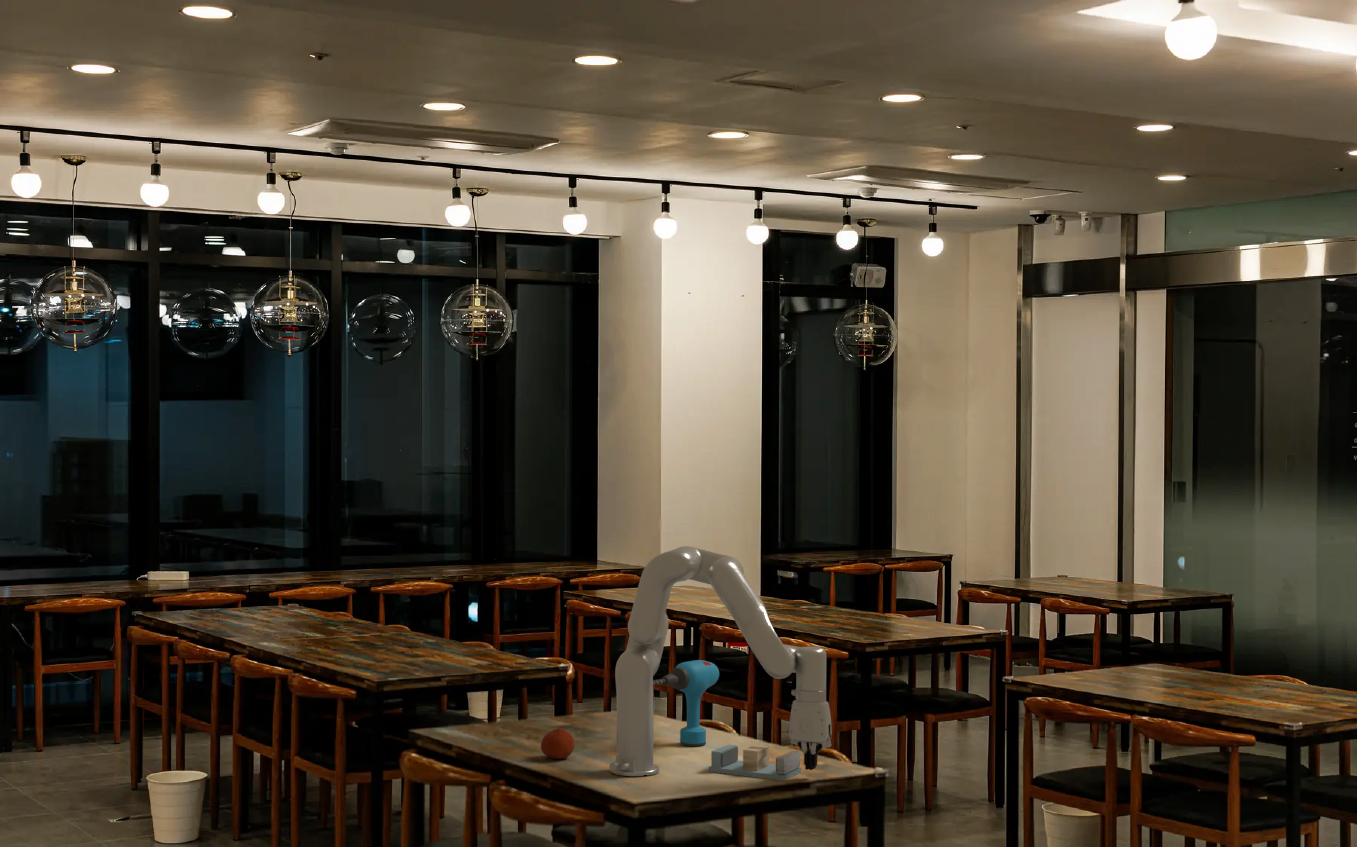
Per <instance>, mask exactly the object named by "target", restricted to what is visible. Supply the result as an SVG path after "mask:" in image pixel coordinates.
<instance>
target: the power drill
mask: <svg viewBox="0 0 1357 847" xmlns="http://www.w3.org/2000/svg"><path fill="white" fill-rule="evenodd" d="M719 677H720V670H719V668H718V666H717V665H716V664H715V663H714V662H710V661H706V660H702V659H696V660H690V661H684V662H681V663H679V664H677V665H676V666H675V667H674V668H673V669H672V670H671V671H670V673H668V674H666V675H665V676H662V678H659V679H653V686H661V685H663V686H664V687H665V686H666V687H673V689H675V690H677V691H680V692H683V693H684V694H685V698H686V726H685V727H682V728H680V730H679V744H680V745H682V746H685V747H700V746H701V747H702V746H704V745H706V743H707V729H706V728H704V727H702V726H700V713H701V712H700V711H701V709H700V708H701V707H700V706H701V698H702V696H703V694H704V693H705V692H706V691H707V689H709V688H711V687H712V686H713V685H715V684H716V683H717V682H718V680H719Z"/></svg>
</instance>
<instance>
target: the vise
mask: <svg viewBox="0 0 1357 847" xmlns="http://www.w3.org/2000/svg"><path fill="white" fill-rule="evenodd" d="M710 757H711V758H710V760H711V762H710V763H711V765H710V766H708V772H709V773H716V772H720V773H719V774H724V773H726V775H727V774H728V775H734V776H742V777H751V778H756V779H757V778H759V779H760V778H761V779H765V780H766V779H767V780H773V781H776V780H777V781H783V782H784V781H786V780H788V779H789V778H792V777H795V776H796V775H798V774H801V773H802V772H801V771H802V768H801V767H799V768H797V769H795V770H792V771H790V772H788V773H786V774H777V772H776V764H773V763H772V764H771V763H769V766H768V767H765V768H763V769H761V770H758V771H753V770H745V769H743V760H739V747H738V745H736V744H726V745H724V746H721V747H719V748H716V749H713V750H711V756H710Z"/></svg>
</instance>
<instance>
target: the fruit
mask: <svg viewBox="0 0 1357 847" xmlns="http://www.w3.org/2000/svg"><path fill="white" fill-rule="evenodd" d="M574 749H575V740H574V736H573V735H572V734H571V733H570V732H569V731H567V730H565V729H563V728H556V729H555V728H554V729H553V730H551V731H549V732H547V733H545V735H544V736H543V738H542V739H541V743H540V750H541V752H542V753H543V754H544V756H546V757H547V758H549V759H554V760H555V759H557V760H562V759H563V760H565V759H566V758H568V757H570V756H571V755H572V753H573V752H574Z"/></svg>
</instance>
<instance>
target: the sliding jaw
mask: <svg viewBox="0 0 1357 847" xmlns="http://www.w3.org/2000/svg"><path fill="white" fill-rule="evenodd" d="M775 765H776V772H777V774H786V773H788V772H790V771H792V770H795V769H797V768H801V751H799V750H791V751H788V752H786V753H784V754H782V755H779V756H777V757H776V758H775Z"/></svg>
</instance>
